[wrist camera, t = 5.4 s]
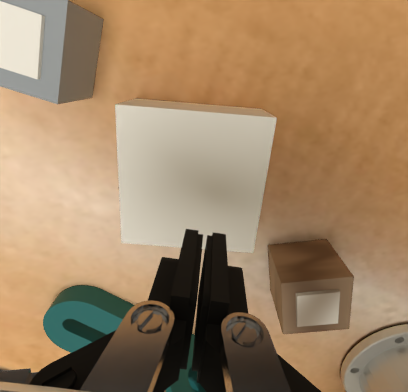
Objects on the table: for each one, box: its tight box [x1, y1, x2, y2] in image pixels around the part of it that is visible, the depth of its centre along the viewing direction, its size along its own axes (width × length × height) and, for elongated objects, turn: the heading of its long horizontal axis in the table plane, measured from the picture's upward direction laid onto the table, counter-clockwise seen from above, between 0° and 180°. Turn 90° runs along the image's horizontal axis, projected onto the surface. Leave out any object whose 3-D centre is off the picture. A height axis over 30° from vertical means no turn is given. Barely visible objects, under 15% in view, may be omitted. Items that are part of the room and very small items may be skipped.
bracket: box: [43, 285, 206, 392], centre depth 26 cm, size 18×7×8 cm, turn 57°
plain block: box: [115, 98, 277, 253], centre depth 20 cm, size 9×9×5 cm
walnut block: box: [268, 239, 354, 334], centre depth 23 cm, size 5×5×5 cm
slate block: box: [0, 0, 104, 104], centre depth 16 cm, size 5×5×5 cm
